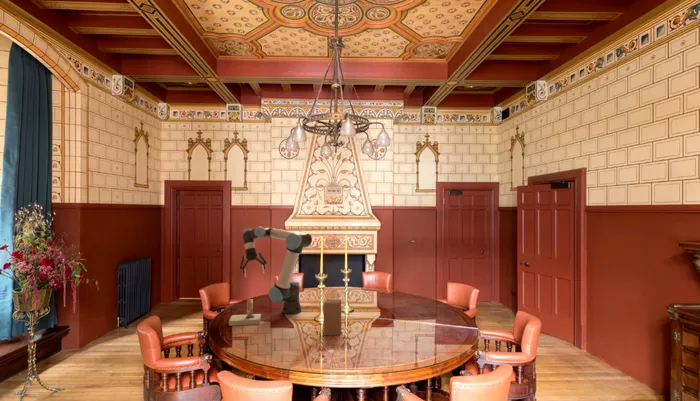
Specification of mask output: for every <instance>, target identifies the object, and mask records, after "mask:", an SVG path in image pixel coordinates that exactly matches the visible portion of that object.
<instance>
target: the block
mask: <svg viewBox="0 0 700 401" xmlns="http://www.w3.org/2000/svg"><path fill="white" fill-rule="evenodd" d="M341 332H342V300H341V299H328V298H327V299H326V300H325V301H324V303H323V336H337V337H338V336H340V334H341Z"/></svg>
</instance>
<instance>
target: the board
mask: <svg viewBox="0 0 700 401" xmlns="http://www.w3.org/2000/svg"><path fill="white" fill-rule="evenodd" d="M261 318H262V313H253V317H252V318H247V314H233V315H231V316H230V317H229V320H228V326H229V327H230V326H231V327H232V326H244V325H245V326H246V325H247V326H248V325H259V324H261V323H260V322H261Z"/></svg>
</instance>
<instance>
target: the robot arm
mask: <svg viewBox="0 0 700 401" xmlns="http://www.w3.org/2000/svg"><path fill="white" fill-rule="evenodd" d="M241 232H242V234H241V235H242V239H243V245H244V249H245V255H242V258H241V259H242V260H241V264H240V266H239V270H242V274H243V275H244V278H245V279H246V278H247V271H246V266H247V264H248V263H249V261H250V262H252V261H257V263H260V264H261V268H262V272H263V275H265V270H266V264H267V261H266V260H265V259H264V257H263V256H262V254H261V252H258V253H257V251H256V250H257V249H256V248H255V247H256V245H255V241H254V240H256V239H259V238H273V239H277V240H278V239H279V240H284V242H285V247H286V248H285V249H286V254H285V257H284V261H283V262H282V267H281V270H280V273H279V277H278V279H277V280H276V281H275V282H274V285H273V286H272V287H270V289H269V290H268V296H269V298H270V299H269V300H271V302H273V303H275V304H277V303H282V302H283V303H282V306H281V314H286V315H296V314H299V313H301V312H302V306H301V303H300V283H299V281H295V280H291V279H292V278H293V277H292V276H293V273H294V269H295V267H296V264H297V260H298V258H299V255H301V254H302V253H303V249H304V248H308V247H310V246H311V244H312V243H313V237H312V235H311V234H310V233H309V232H307V231H298V232H296V231H291V230H285V229H280V228H274V227H271V226H270V227H263V226H258V227H255V228H253V229H251V228H246V229H243V230H242V231H241ZM257 256H258V257H257ZM259 258H260V259H261V260H260V259H259ZM245 259H246V262H245V263H244V261H245ZM243 264H244V265H243Z"/></svg>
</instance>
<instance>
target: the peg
mask: <svg viewBox="0 0 700 401" xmlns="http://www.w3.org/2000/svg"><path fill="white" fill-rule="evenodd" d="M253 309H254V299H252V298H248V299H247V300H246V315H247V318H252V317H253V314H254V310H253Z"/></svg>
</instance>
